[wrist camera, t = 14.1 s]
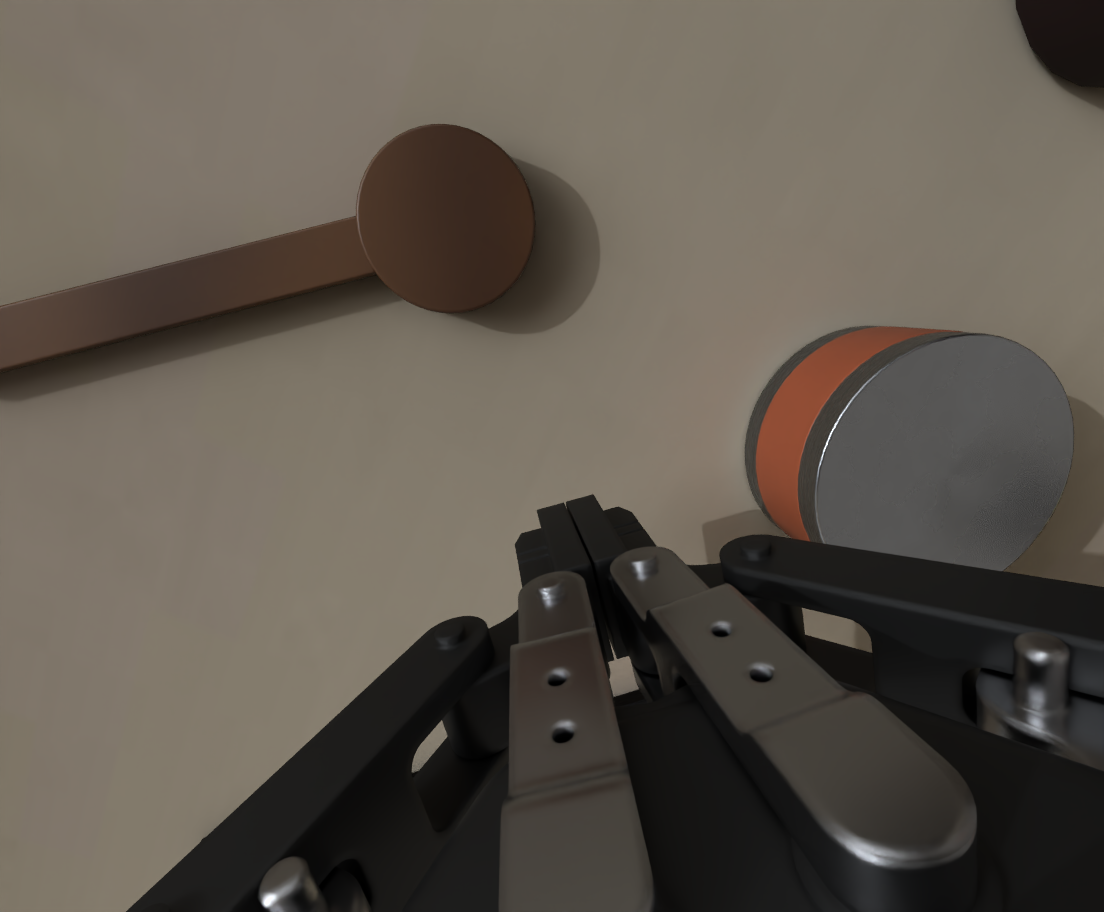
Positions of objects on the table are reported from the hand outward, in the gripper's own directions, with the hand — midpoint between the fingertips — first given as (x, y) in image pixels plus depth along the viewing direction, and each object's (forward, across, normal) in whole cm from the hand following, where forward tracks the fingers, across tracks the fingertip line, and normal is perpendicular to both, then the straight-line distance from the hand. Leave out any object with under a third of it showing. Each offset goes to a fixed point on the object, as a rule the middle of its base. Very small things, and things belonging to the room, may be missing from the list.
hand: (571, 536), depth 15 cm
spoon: (+3, +7, -8) cm, 11 cm away
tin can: (+3, -10, +1) cm, 10 cm away
